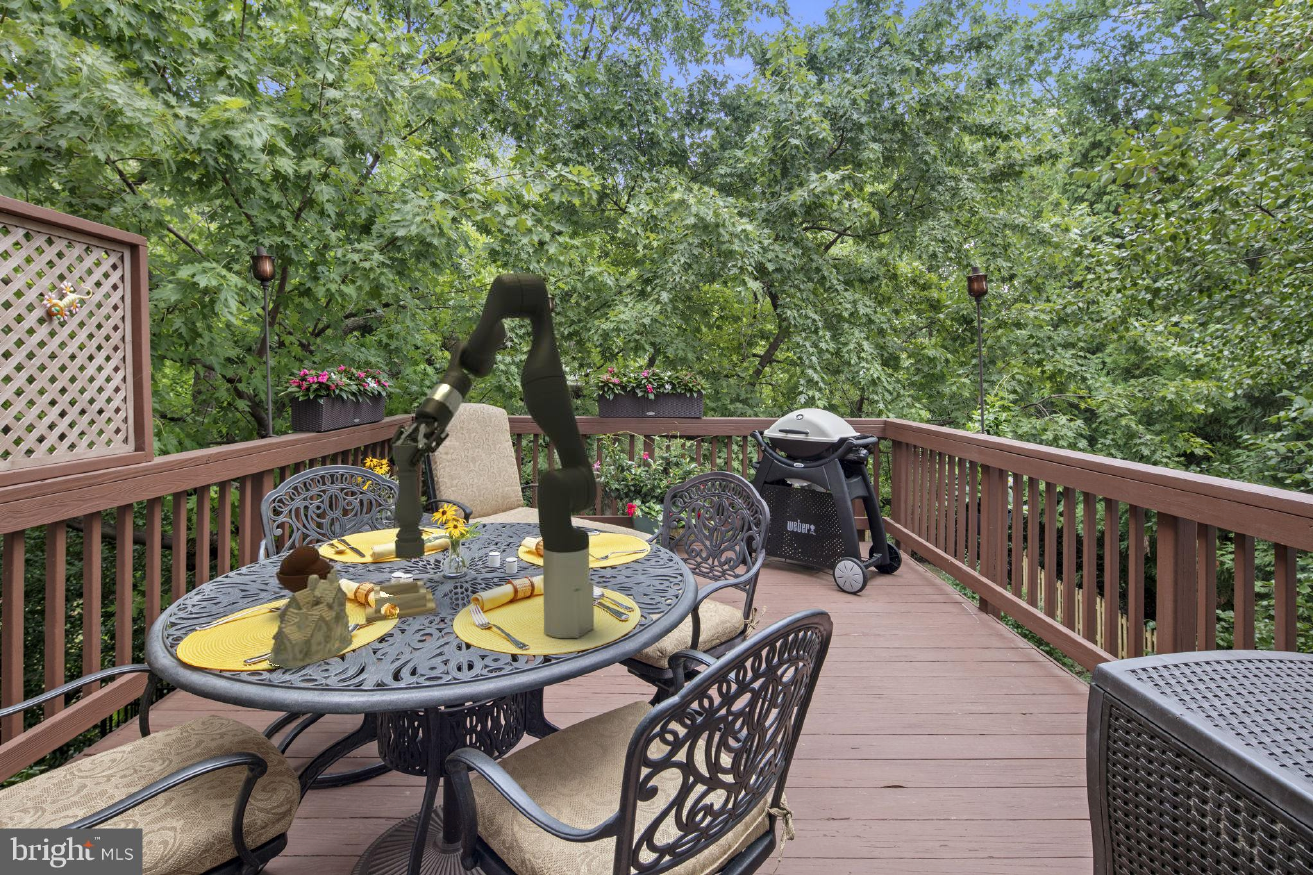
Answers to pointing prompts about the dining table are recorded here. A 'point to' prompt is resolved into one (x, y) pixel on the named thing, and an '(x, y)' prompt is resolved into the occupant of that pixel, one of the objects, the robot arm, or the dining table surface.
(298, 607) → the ceramic cottage
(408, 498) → the candle holder
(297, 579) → the ice cream bowl
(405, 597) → the socket base
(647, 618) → the dining table surface
